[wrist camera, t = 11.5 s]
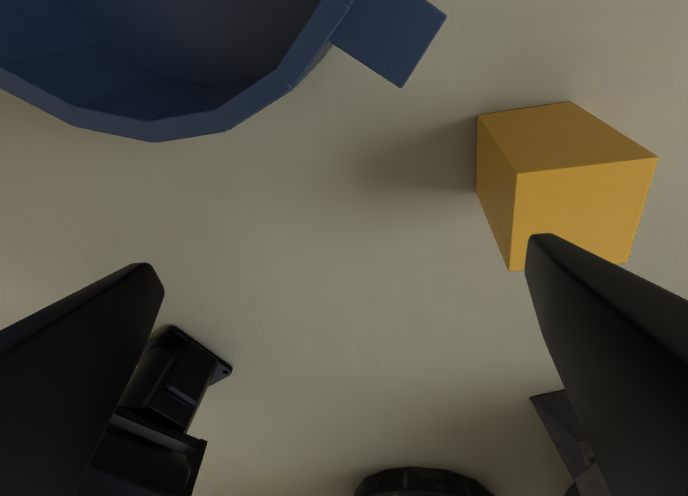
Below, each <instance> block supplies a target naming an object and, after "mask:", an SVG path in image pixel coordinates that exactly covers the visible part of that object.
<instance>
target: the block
mask: <svg viewBox="0 0 688 496" xmlns="http://www.w3.org/2000/svg"><path fill="white" fill-rule="evenodd" d="M657 162H658V156H656V155H655V154H653V153H652V152H650V151H648V150H647V149H645V148H644V147H642V146H641V145H639V144H637V143H636V142H634V141H633V140H631V139H630V138H628V137H626V136H625V135H623V134H622V133H620V132H619V131H617V130H615V129H614V128H612V127H611V126H609V125H608V124H606V123H604V122H603V121H601V120H600V119H598V118H597V117H595V116H593V115H592V114H590V113H589V112H587V111H586V110H584V109H582V108H581V107H579V106H578V105H576V104H574V103H573V102H564V103H558V104H551V105H544V106H537V107H530V108H524V109H517V110H510V111H503V112H496V113H489V114H483V115H478V116H477V168H476V193H477V196H478V198H479V201H480V203H481V205H482V208H483V210H484V213H485V215H486V218H487V220H488V223H489V225H490V227H491V230H492V232H493V235H494V237H495V240H496V242H497V245H498V247H499V249H500V252H501V254H502V257H503V259H504V262H505V264H506V266H507V269H508V271H522V270H524V266H525V258H526V251H527V244H528V239H529V237H530V236H531V235H532V234H540V233H553V234H555V235H557V236H559V237H561V238H563V239H565V240H567V241H569V242H571V243H573V244H575V245H577V246H579V247H581V248H583V249H585V250H587V251H589V252H591V253H593V254H595V255H597V256H599V257H601V258H603V259H605V260H607V261H609V262H611V263H613V264H622V263H627V261H628V258H629V255H630V251H631V248H632V245H633V241H634V238H635V235H636V231H637V228H638V225H639V221H640V218H641V215H642V211H643V208H644V205H645V201H646V198H647V195H648V191H649V188H650V185H651V181H652V178H653V175H654V171H655V168H656V165H657Z"/></svg>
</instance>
